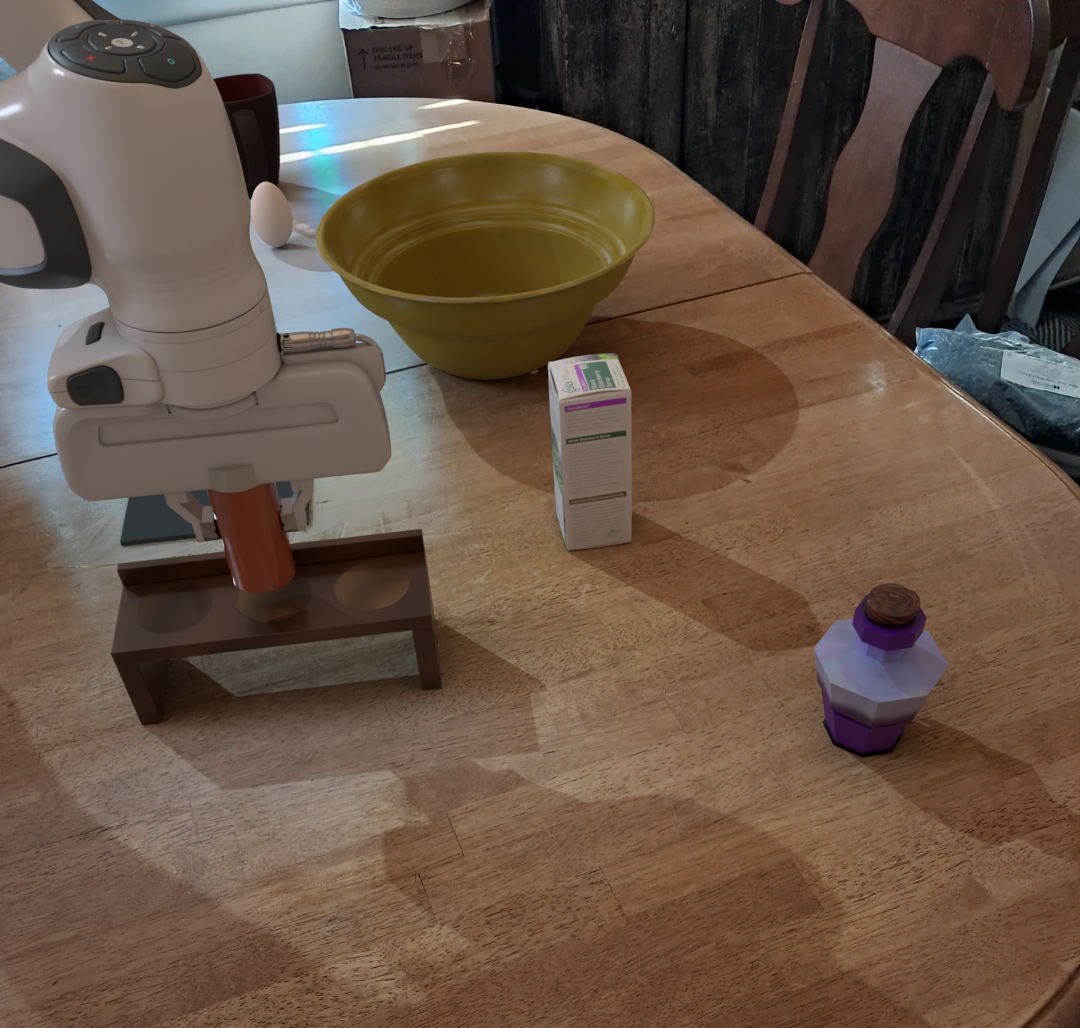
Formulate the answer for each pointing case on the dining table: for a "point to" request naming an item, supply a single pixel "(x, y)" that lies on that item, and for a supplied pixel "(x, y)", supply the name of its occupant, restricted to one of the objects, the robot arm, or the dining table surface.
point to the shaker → (251, 529)
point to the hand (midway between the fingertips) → (252, 531)
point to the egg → (271, 214)
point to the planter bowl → (487, 254)
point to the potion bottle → (877, 671)
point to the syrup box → (591, 450)
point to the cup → (253, 125)
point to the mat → (169, 517)
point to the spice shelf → (271, 608)
